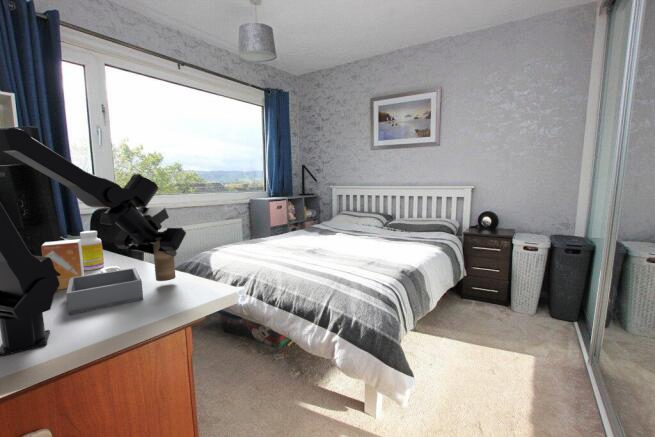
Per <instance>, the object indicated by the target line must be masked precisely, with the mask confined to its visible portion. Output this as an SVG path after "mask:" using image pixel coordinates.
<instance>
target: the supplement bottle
mask: <svg viewBox="0 0 655 437" xmlns="http://www.w3.org/2000/svg"><path fill="white" fill-rule="evenodd" d="M79 233H80V234H79V236H80V238H81V248H82V258H83V267H84V271H93V270H94V271H95V270H98V269H103V268H104V267H105V261H104V252H103V243H102V239H101V238H100V237H99V238H98V231H97V230H84V231H81V232H79Z"/></svg>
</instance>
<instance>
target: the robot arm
mask: <svg viewBox="0 0 655 437" xmlns="http://www.w3.org/2000/svg"><path fill="white" fill-rule="evenodd" d="M0 152H1V153H2V152H4V153H6V154H8V155H10V156H11V157H12V158H13V157H14V158H15V159H17V160H19V161H20V162H23V163H24V164H26V165H28V166H29V167H31V168H33V169H34V170H37V171H39V173H42V174H44V175H45V176H47V177H49V178H50V179H53V180H54V181H56V182H58V183H60V184H62V185H63V186H65V187H66V188H68V189H69V190H70V191H71V192H72V194H73V196H74V197H75V198H77V199H78V200H79V201H80V202H82V203H83V204H84V205H86V206H87V207H90V208H97V209H98V208H99V209H100V208H102V209H103V208H104V209H105V208H107V210H106V211H105V212H101V213H100V215H101V217H100V221H99V223H100V224H101V225H107V226H108V225H109V226H110V225H111V226H114V225H117V226H118V227H119V228H120V230H119V232H118V233H117V235H116V236H115V238H114V239H113V243H114V246H115V247H117V248H118V249H121V250H128V248H129V250H131V251H135V252H138V253H139V252H141V253H145V254H150V255H153V256H154V251H153V243H156V242H157V241H159V242H160V248H159V250H158V251H160V252H162V253H165V254H168V255H171V256H174V257H176V256H177V254H178V252H177V251H178V250H179V248H180V246H181V244H182V243H183V240H184V239H185V236H186V235H187V232H186V231H185V230H184V228H183V227H178V226H177V227H173V226H172V227H171V226H170V227H167V228H166V229H165V230H164V231H159V230H161V229H162V227H163V225H162V223H163V222H165V221H166V220H168V219H169V216H170V215H169V214H168V212H167V210H166V207H165V206H151V207H150V206H149V207H147V206H148V205H149V203H150V202H151V201H152V199H153V198H154V197H155V195H156V194H157V192H158V191H159V186H158V184H157V183H156V182H155V181H153V180H151V179H149V178H147V177H145V176H143V175H142V174H141V173H134V174H132V176H131V177H130V179H129V180H128V181H127V182H126V184H125V185H124V187H122V186H121V185H119V183H116V182H114V181H113V180H109V179H107V178H105V177H101V176H98V175H96V174H92V173H89V172H88V171H86V170H84V169H82V168H81V167H80V166H77V165H76V164H74V163H72V161H70V160H68V159H66V158H65V157H64V156H62V155H60V154H59V153H57V152H55V151H54V150H52V149H51V148H49V147H48V146H46V145H44V143H41V142H40V141H38V140H37V139H35V138H33V137H32V136H30V134H29V133H28V132H27V131H25V130H24V129H21V128H20V127H19V128H18V127H9V128H0ZM60 275H61V274H60V273H58V272H57V271H56V270H55V268H54V265H53V262H52V260H51V259H50V258H49V257H43V256H39V255H34V254H33V253H31V251H30V250H29V249H28V246H27V245H26V243H25V242H24V239H23V238H22V236H21V235H20V232H19V231H18V229H17V227H16V226H15V224H14V223H13V221H12V220H11V218H10V216H9V214H8V213H7V211H6V209H5V208H4V205H3V204H2V203H1V201H0V337H1V344H0V357H1V356H6V355H10V354H15V353H17V352H23V351H27V350H31V349H34V348H38V347H43V346H45V345H48V340H49V338H50V334H51V330H50V329H46V330H45V321H44V315H43V313H44V312H49V311H50V310H51V307H52V303H53V301H54V297H55V294H56V293H57V291H58V290H57V289H58V287H59V286H60V282H59V279H58V277H57V276H60Z"/></svg>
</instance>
